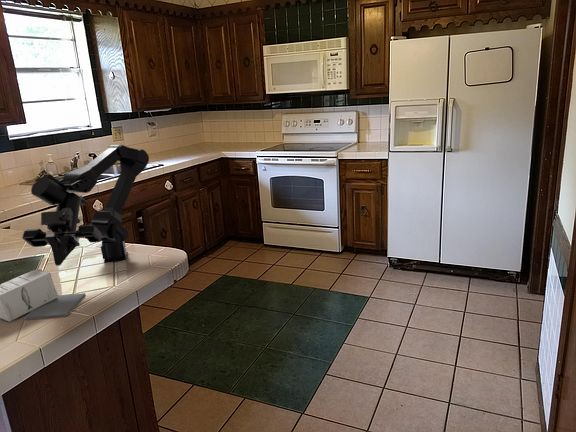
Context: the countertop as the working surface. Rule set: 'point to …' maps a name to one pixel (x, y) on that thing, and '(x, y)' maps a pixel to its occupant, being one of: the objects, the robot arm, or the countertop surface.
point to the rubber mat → (56, 307)
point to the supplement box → (26, 294)
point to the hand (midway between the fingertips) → (57, 265)
